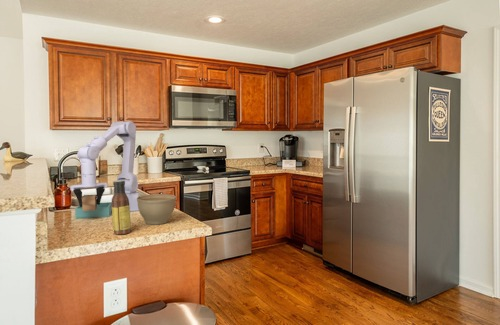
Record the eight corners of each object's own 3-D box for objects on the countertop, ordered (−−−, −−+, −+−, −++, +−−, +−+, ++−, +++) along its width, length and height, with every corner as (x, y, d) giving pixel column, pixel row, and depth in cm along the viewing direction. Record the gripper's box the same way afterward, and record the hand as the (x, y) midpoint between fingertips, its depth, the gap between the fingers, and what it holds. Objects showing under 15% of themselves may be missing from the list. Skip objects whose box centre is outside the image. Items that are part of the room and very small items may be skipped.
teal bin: (112, 211, 168) (111, 202, 168) (109, 216, 157) (108, 206, 156) (81, 213, 164) (80, 203, 164) (75, 218, 153) (75, 208, 153)
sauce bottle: (133, 230, 132) (131, 179, 131) (127, 235, 126) (126, 181, 125) (115, 230, 132) (114, 179, 131) (109, 235, 126) (108, 181, 124)
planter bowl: (136, 228, 136) (135, 201, 135) (138, 219, 152) (137, 194, 151) (177, 225, 140) (177, 199, 140) (175, 217, 156) (175, 193, 155)
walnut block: (97, 207, 152) (96, 194, 151) (95, 210, 147) (94, 196, 147) (84, 208, 150) (84, 195, 150) (82, 210, 146) (82, 196, 145)
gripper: (103, 172, 155) (104, 202, 156) (68, 174, 146) (69, 206, 147) (108, 173, 150) (109, 204, 151) (71, 176, 141) (73, 208, 142)
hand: (89, 205), depth 149 cm, fingers closed on walnut block, 6 cm apart
